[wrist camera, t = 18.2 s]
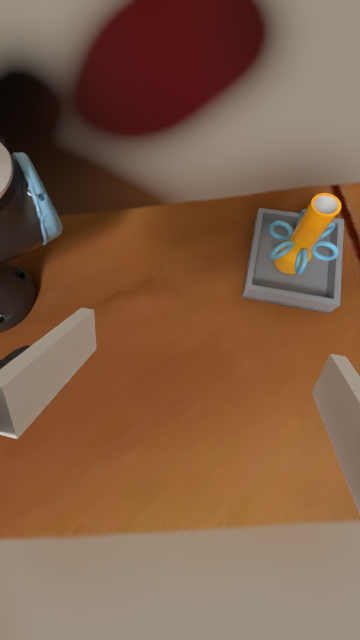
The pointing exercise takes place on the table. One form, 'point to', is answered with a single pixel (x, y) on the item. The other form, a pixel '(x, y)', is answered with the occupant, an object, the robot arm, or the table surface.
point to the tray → (297, 289)
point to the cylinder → (306, 235)
